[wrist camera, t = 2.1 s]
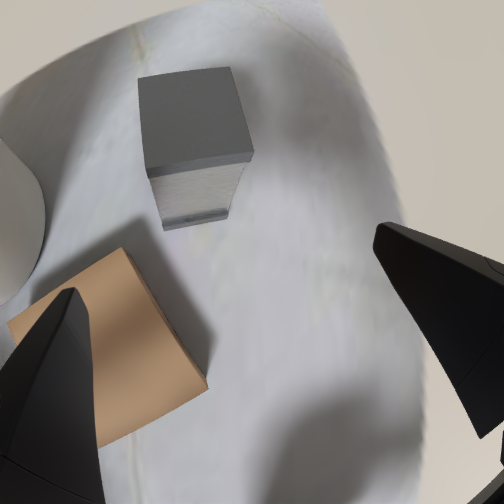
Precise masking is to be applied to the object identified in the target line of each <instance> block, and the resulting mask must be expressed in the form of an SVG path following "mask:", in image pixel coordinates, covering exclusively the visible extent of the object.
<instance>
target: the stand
mask: <svg viewBox="0 0 504 504" xmlns="http://www.w3.org/2000/svg"><path fill="white" fill-rule="evenodd" d="M70 287H76V288H77V289H78V291H79V293H80V295H81V297H82V299H83V301H84V303H85V305H86V307H87V310H88V313H89V323H90V337H91V349H92V359H93V388H94V412H95V427H96V439H97V449H99V448H101V447H103V446H105V445H107V444H109V443H111V442H113V441H115V440H117V439H119V438H121V437H123V436H125V435H127V434H129V433H131V432H133V431H135V430H137V429H139V428H141V427H143V426H145V425H147V424H149V423H150V422H152V421H154V420H156V419H158V418H160V417H161V416H163V415H165V414H167V413H169V412H170V411H172V410H174V409H176V408H178V407H179V406H181V405H183V404H185V403H186V402H188V401H190V400H191V399H193V398H195V397H197V396H198V395H200V394H202V393H203V392H205V391H207V390H208V389H209V388H208V384H207V380H206V378H205V376H204V375H203V373H202V372H201V371H200V369H199V368H198V366H197V365H196V363H195V362H194V360H193V359H192V357H191V356H190V354H189V353H188V351H187V350H186V348H185V347H184V345H183V344H182V342H181V340H180V339H179V337H178V336H177V334H176V333H175V331H174V329H173V328H172V326H171V325H170V323H169V321H168V320H167V318H166V316H165V315H164V313H163V312H162V310H161V308H160V307H159V305H158V303H157V302H156V300H155V298H154V296H153V295H152V293H151V291H150V290H149V288H148V286H147V284H146V283H145V281H144V279H143V277H142V275H141V274H140V272H139V270H138V268H137V266H136V265H135V263H134V261H133V259H132V257H131V255H130V254H129V253H127V252H126V251H125V250H124V249H123V248H122V247H120V248H119V249H117V250H115V251H114V252H112V253H110V254H109V255H107V256H106V257H104V258H102V259H101V260H99V261H98V262H96V263H94V264H93V265H91V266H90V267H88V268H86V269H85V270H83V271H82V272H80V273H79V274H77V275H76V276H74V277H73V278H71V279H70V280H68V281H67V282H65V283H63V284H62V285H60V286H59V287H58V288H56V289H55V290H53V291H52V292H50V293H49V294H47V295H46V296H44V297H43V298H41V299H40V300H38V301H37V302H36V303H34V304H33V305H31V306H30V307H28V308H27V309H26V310H24V311H23V312H21V313H20V314H19V315H17V316H16V317H15V318H13V319H12V320H10V321H9V322H8V323H7V325H8V327H9V329H10V332H11V334H12V336H13V338H14V341H15V343H16V345H17V346H18V344H19V343H20V342H21V340H22V339H23V338H24V336H25V335H26V334H27V332H28V331H29V330H30V328H31V327H32V326H33V325H34V323H35V322H36V321H37V319H38V318H39V317H40V316H41V314H42V313H43V312H44V311H45V309H46V308H47V307H48V306H49V304H50V303H51V302H52V301H53V300H54V298H55V297H56V296H57V295H58V294H59V292H60V291H61V290H62V289H65V288H70Z"/></svg>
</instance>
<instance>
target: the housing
mask: <svg viewBox="0 0 504 504" xmlns="http://www.w3.org/2000/svg"><path fill="white" fill-rule="evenodd" d="M138 94H139V108H140V121H141V132H142V143H143V152H144V161H145V169H146V173H147V176H148V179H149V180H150V184H151V187H152V191H153V194H154V198H155V201H156V205H157V208H158V211H159V215H160V218H161V221H162V226H163V230H164V231H168V230H173V229H178V228H183V227H188V226H193V225H198V224H203V223H208V222H214V221H219V220H224V219H227V217H228V208H229V206H230V203H231V200H232V198H233V195H234V192H235V190H236V187H237V184H238V182H239V179H240V177H241V174H242V171H243V169H244V166H245V164H246V162H250V161H251V158H252V156H253V153H254V149H253V145H252V142H251V138H250V135H249V131H248V128H247V124H246V121H245V117H244V114H243V110H242V107H241V103H240V100H239V96H238V93H237V90H236V86H235V83H234V80H233V76H232V73H231V70H230V67H222V68H209V69H199V70H190V71H182V72H174V73H167V74H161V75H154V76H149V77H143V78H138Z"/></svg>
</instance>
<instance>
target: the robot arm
mask: <svg viewBox="0 0 504 504" xmlns="http://www.w3.org/2000/svg"><path fill="white" fill-rule="evenodd" d="M373 251H374V253H375V255H376V257H377V259H378V260H379V262H380V264H381V266H382V267H383V269H384V271H385V273H386V275H387V276H388V278H389V280H390V282H391V284H392V286H393V287H394V289H395V291H396V292H397V294H398V295H399V297H400V298H401V300H402V301H403V303H404V304H405V306H406V308H407V309H408V311H409V312H410V314H411V315H412V317H413V318H414V320H415V322H416V323H417V325H418V326H419V328H420V330H421V331H422V333H423V335H424V336H425V338H426V339H427V341H428V343H429V345H430V346H431V348H432V350H433V351H434V353H435V355H436V356H437V358H438V360H439V362H440V363H441V365H442V367H443V369H444V370H445V372H446V374H447V376H448V378H449V379H450V381H451V383H452V385H453V387H454V388H455V391H456V393H457V395H458V397H459V399H460V400H461V402H462V404H463V406H464V408H465V410H466V412H467V414H468V416H469V418H470V420H471V423H472V425H473V427H474V429H475V431H476V433H477V435H478V437H479V438H480V439H482V438H483V437H484V436H485V435H487V434H488V433H489V432H491V431H492V430H493V429H494V428H495V427H497V426H498V425H499V424H500V423H502V422H503V421H504V264H502V263H499V262H497V261H494V260H492V259H489V258H487V257H485V256H484V257H483V256H482V255H479V254H477V253H475V252H472V251H469V250H467V249H464V248H462V247H459V246H456V245H454V244H451V243H449V242H446V241H443V240H441V239H438V238H435V237H432V236H429V235H427V234H424V233H421V232H418V231H416V230H413V229H410V228H407V227H404V226H401V225H398V224H395V223H392V222H384V223H380V224H378V226H377V228H376V233H375V238H374V242H373ZM500 461H501V463H502V464H503V466H504V431H503V438H502V450H501V459H500ZM0 504H106V503H105V497H104V492H103V486H102V479H101V473H100V465H99V457H98V449H97V439H96V427H95V412H94V388H93V359H92V349H91V337H90V323H89V313H88V310H87V307H86V305H85V303H84V301H83V299H82V297H81V295H80V293H79V291H78V289H77V288H76V287H70V288H65V289H62V290H61V291H60V292H59V294H58V295H57V296H56V297H55V298H54V300H53V301H52V302H51V303H50V304H49V306H48V307H47V308H46V309H45V311H44V312H43V313H42V314H41V316H40V317H39V318H38V319H37V321H36V322H35V323H34V325H33V326H32V327H31V328H30V330H29V331H28V332H27V334H26V335H25V336H24V338H23V339H22V340H21V342H20V343H19V344H18V346H17V347H16V349H15V350H14V351H13V353H12V354H11V356H10V357H9V358H8V360H7V361H6V363H5V364H4V366H3V367H2V369H1V370H0ZM467 504H504V469H503V470H502V471H501V472H500V473H499V474H498V475H497V477H496V478H494V479H493V480H492V481H491V483H489V484H488V485H487V486H486V487H485V488H484V489H483V490H482V491H481V492H480V493H479V494H478V495H476V497H474V498H473V499H472V500H471V501H470V502H469V503H467Z"/></svg>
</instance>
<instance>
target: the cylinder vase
mask: <svg viewBox="0 0 504 504" xmlns="http://www.w3.org/2000/svg"><path fill="white" fill-rule="evenodd" d="M44 230H45V204H44V198H43V194H42V191H41V188H40V185H39V183H38V181H37V179H36V177H35V176H34V174H33V173H32V172H31V170H30V169H29V168H28V167H27V166H26V165H25V164H24V163H23V162H22V161H21V160H20V159H19V158H18V157H17V156H16V155H15V154H14V152H13V151H12V150H11V149H10V148H9V147H8V146H7V145H6V144H5V143H4V142H3V140H2V139H1V138H0V305H2V304H4V303H6V302H7V301H9V300H10V299H11V298H12V297H14V296H15V295H16V294H17V293H18V292H19V290H20V289H21V288H22V287H23V285H24V284H25V283H26V281H27V280H28V278H29V276H30V274H31V273H32V271H33V269H34V266H35V264H36V262H37V259H38V256H39V253H40V250H41V246H42V242H43V237H44Z"/></svg>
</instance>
